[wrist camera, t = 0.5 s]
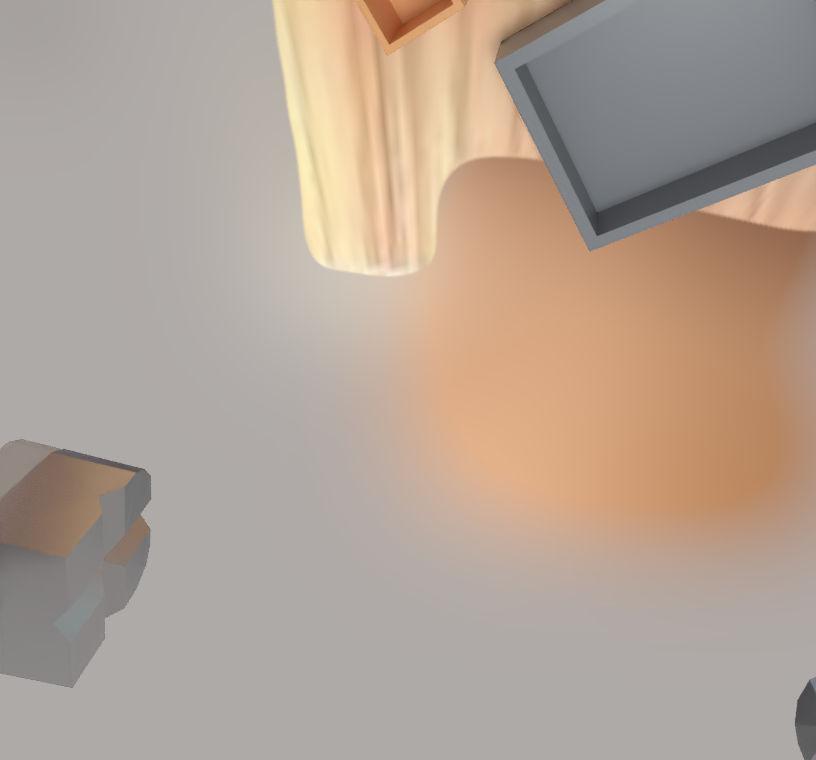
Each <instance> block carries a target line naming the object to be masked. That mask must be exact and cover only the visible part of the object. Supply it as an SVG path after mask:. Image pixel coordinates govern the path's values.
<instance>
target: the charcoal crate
mask: <svg viewBox="0 0 816 760" xmlns="http://www.w3.org/2000/svg"><path fill="white" fill-rule="evenodd" d="M495 65H496V67H497V69H498V71H499V73H500V75H501V77H502V79H503V81H504V83H505V85H506V87H507V89H508V91H509V93H510V95H511V97H512V99H513V101H514V103H515V105H516V107H517V109H518V111H519V113H520V115H521V117H522V119H523V121H524V123H525V125H526V127H527V129H528V131H529V133H530V134H531V136H532V138H533V140H534V142H535V144H536V146H537V148H538V150H539V152H540V154H541V156H542V158H543V160H544V162H545V164H546V166H547V168H548V170H549V172H550V174H551V176H552V178H553V180H554V182H555V184H556V186H557V188H558V190H559V192H560V194H561V196H562V198H563V200H564V202H565V204H566V206H567V208H568V209H569V212H570V214H571V216H572V218H573V219H574V221H575V224H576V225H577V227H578V229H579V232H580V234H581V236H582V237H583V239H584V241H585V243H586V245H587V247H588V249H589V251H592V250H595V249H597V248H600V247H602V246H605V245H608V244H610V243H613V242H615V241H618V240H621V239H623V238H626V237H628V236H631V235H634V234H636V233H639V232H641V231H644V230H646V229H649V228H652V227H654V226H657V225H659V224H662V223H665V222H667V221H670V220H673V219H675V218H678V217H680V216H683V215H686V214H688V213H691V212H693V211H696V210H698V209H701V208H704V207H706V206H709V205H711V204H714V203H717V202H719V201H722V200H724V199H727V198H730V197H732V196H735V195H737V194H740V193H743V192H745V191H748V190H750V189H753V188H756V187H758V186H761V185H763V184H766V183H769V182H771V181H774V180H776V179H779V178H782V177H784V176H787V175H789V174H792V173H795V172H797V171H800V170H802V169H805V168H808V167H810V166H813V165H815V164H816V0H573V1H571V2H569V3H568V4H566V5H564V6H563V7H561V8H559V9H557V10H556V11H554V12H552V13H550V14H549V15H547V16H545V17H544V18H542V19H540V20H538V21H537V22H535V23H533V24H531V25H530V26H528V27H526V28H524V29H523V30H521V31H519V32H518V33H516V34H514V35H512V36H511V37H509V38H507V39H505V40H504V41H502V42H501V45H500V48H499V51H498V54H497V57H496V60H495Z"/></svg>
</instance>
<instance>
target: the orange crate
mask: <svg viewBox="0 0 816 760" xmlns="http://www.w3.org/2000/svg"><path fill="white" fill-rule="evenodd" d="M355 1H356V3H357V5H358V6H359V8H360V10H361V11H362V13H363V15H364V17H365V18H366V20H367V22H368V23H369V25H370V27H371V29H372V30H373V32H374V34H375V35H376V37H377V39H378V41H379V42H380V44H381V46H382V47H383V49H384V51H385V53H386V54H387V55H389V54H391V53H392V52H394V51H395V50H397V49H399V48H400V47H402V46H403V45H405V44H407V43H408V42H410V41H411V40H413V39H415V38H416V37H418V36H419V35H421V34H423V33H424V32H426V31H427V30H429V29H431V28H432V27H434V26H435V25H437V24H439V23H440V22H442V21H443V20H445V19H447V18H448V17H450V16H451V15H453V14H455V13H456V12H458V11H459V10H461V9H463V8H464V7H465V5H466V3H467V1H468V0H355Z"/></svg>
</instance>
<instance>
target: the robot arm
mask: <svg viewBox="0 0 816 760" xmlns="http://www.w3.org/2000/svg"><path fill="white" fill-rule="evenodd" d="M150 500H151V476H150V475H149V474H148V472H147V471H146V470H145V469H142V468H138V467H133V466H130V465H126V464H122V463H118V462H114V461H110V460H106V459H102V458H98V457H94V456H90V455H86V454H82V453H78V452H74V451H70V450H66V449H62V450H61V449H59V448H56V447H51V446H48V445H44V444H39V443H35V442H31V441H27V440H23V439H20V440H15V441H11V442H8V443H7V444H5V445H4V446H3V447H2V448H0V673H2V674H7V675H11V676H16V677H21V678H26V679H31V680H36V681H41V682H46V683H51V684H56V685H61V686H66V687H71V688H72V687H73V686H74V685H75V683H76V682H77V680H78V678H79V677H80V675H81V674H82V672H83V671H84V669H85V668H86V666H87V665H88V663H89V662H90V660H91V659H92V657H93V656H94V654H95V653H96V651H97V650H98V648H99V647H100V645H101V643H102V642H103V640H104V639H105V618H106V617H108V616H110V615H112V614H114V613H116V612H118V611H120V610H122V609H124V608H125V606H126V605H127V603H128V602H129V600H130V598H131V597H132V595H133V594H134V592H135V590H136V589H137V586H138V584H139V581H140V578H141V576H142V573H143V571H144V569H145V566H146V562H147V557H148V552H149V547H150V528H149V526H148V525H147V523H146V522H145V521H144V519H143V518H142V516H141V515H140V514H141V512H142V511H143V510H144V508H145V507H146V505H147V504H148V503H149V501H150ZM795 727H796V734H797V740H798V745H799V747H800V749H801V752H802V755H803V757H804V760H816V677H815V678H812V679H810V680H809V682H808V683H807V685H806V687H805V689H804V690H803V692H802V694H801V695H800V697H799V699H798V701H797V710H796V718H795Z"/></svg>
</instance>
